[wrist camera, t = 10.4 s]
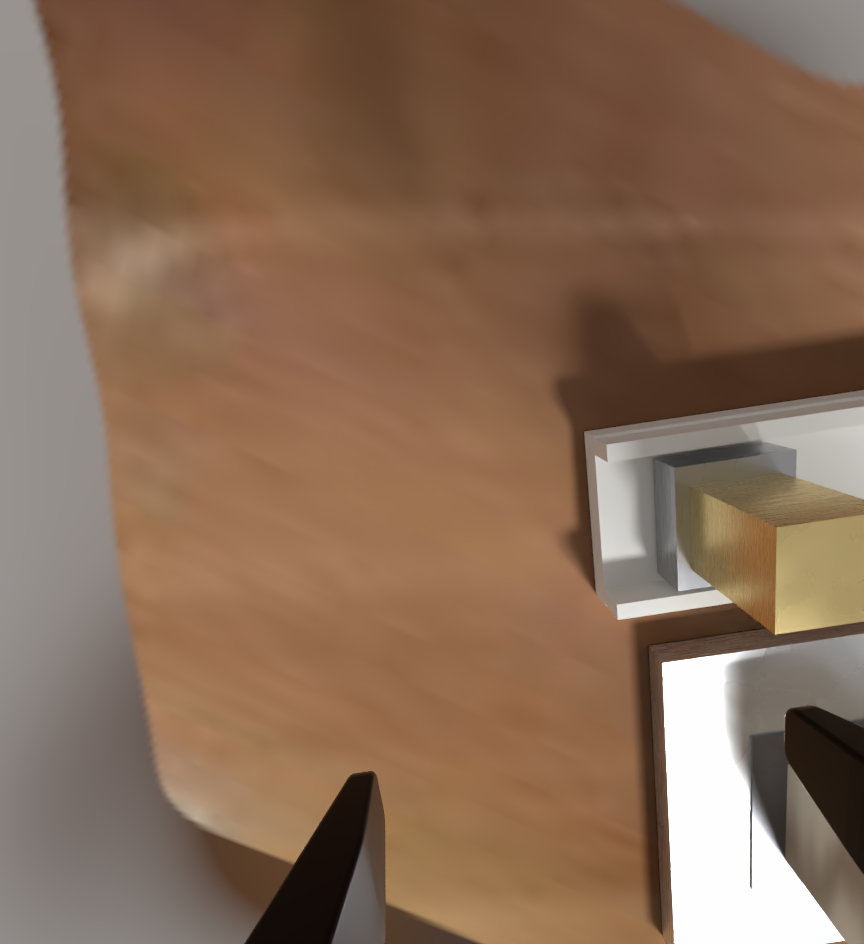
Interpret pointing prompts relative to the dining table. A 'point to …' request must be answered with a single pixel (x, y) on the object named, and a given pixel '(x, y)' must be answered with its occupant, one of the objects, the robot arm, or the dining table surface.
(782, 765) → the plate
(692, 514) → the lever
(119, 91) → the dining table surface
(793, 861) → the block
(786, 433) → the rail
